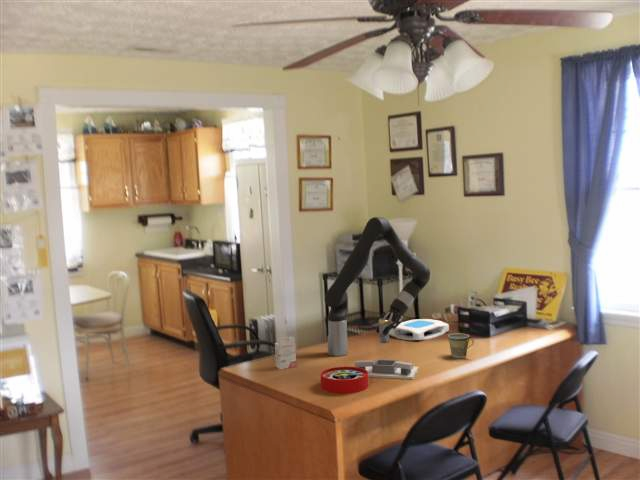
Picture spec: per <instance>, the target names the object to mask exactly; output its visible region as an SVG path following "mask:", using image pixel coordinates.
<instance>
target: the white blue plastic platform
mask: <svg viewBox="0 0 640 480" xmlns="http://www.w3.org/2000/svg"><path fill="white" fill-rule="evenodd" d="M395 325H396V324H395ZM395 325H394V326H395ZM448 331H450V325H449V324H448V323H446V322H444V321H441V320H437V319H430V318H419V319H417V318H416V319H410V320H406V321H402V322H401V323H400V324H399V325H398V326H397V327H396V328H395V329H391V330H390V331H389V336H391V337H393V338H395V339H398V340H405V341H411V342H412V341H427V340H429V339H434V338H437V337H440V336H442V335H444V334H446V333H447V332H448ZM426 332H427V333H430V334H426V335H425V333H426ZM411 333H412V335H407V334H411Z"/></svg>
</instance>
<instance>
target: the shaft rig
mask: <svg viewBox="0 0 640 480" xmlns="http://www.w3.org/2000/svg"><path fill="white" fill-rule="evenodd" d="M354 367H358V368H362V369H365V370H367V371H368V378H382V379H397V380H398V379H400V380H414V378H415V376H416V374H417V372H418V371H419V366H414V364H413V363H411V362H404V361H399V360H396V359H380V358H379V359H377V358H376V360H375V361H374V360H372V359H370V360H355V361H354Z"/></svg>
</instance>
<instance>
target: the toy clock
mask: <svg viewBox="0 0 640 480" xmlns="http://www.w3.org/2000/svg"><path fill="white" fill-rule="evenodd" d="M368 388H369V377H368V371H367V370H365V369H362V368H358V367H355V366H335V367H329V368H327V369H324V370H322V371H321V372H320V389H321V390H322V391H323V392H327V393H331V394H339V395H341V394H342V395H343V394H344V395H345V394H346V395H348V394H355V393H356V394H357V393H360V392H364V391H365V390H367V389H368Z"/></svg>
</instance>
